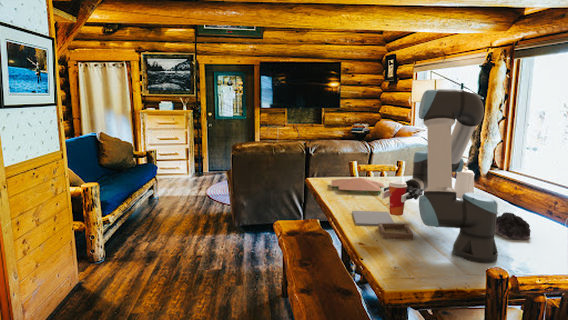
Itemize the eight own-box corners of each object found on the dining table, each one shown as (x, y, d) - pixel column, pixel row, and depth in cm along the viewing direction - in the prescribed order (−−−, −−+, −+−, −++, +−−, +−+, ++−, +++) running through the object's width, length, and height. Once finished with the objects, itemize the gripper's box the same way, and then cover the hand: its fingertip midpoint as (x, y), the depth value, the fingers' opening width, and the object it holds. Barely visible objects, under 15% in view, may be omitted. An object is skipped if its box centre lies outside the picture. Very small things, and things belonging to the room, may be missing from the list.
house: (386, 196, 214) (387, 183, 212) (331, 194, 218) (331, 181, 216) (381, 186, 236) (381, 174, 235) (331, 185, 240) (331, 173, 239)
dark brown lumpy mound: (531, 245, 146) (537, 222, 144) (494, 236, 151) (499, 214, 150) (526, 236, 157) (531, 214, 156) (492, 228, 163) (496, 207, 162)
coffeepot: (459, 204, 196) (462, 171, 192) (448, 192, 220) (450, 163, 216) (480, 206, 193) (484, 172, 190) (466, 193, 217) (469, 163, 214)
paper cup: (391, 209, 159) (392, 179, 157) (408, 213, 154) (410, 182, 152) (384, 214, 153) (385, 182, 151) (401, 217, 149) (403, 185, 146)
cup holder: (413, 240, 149) (413, 234, 148) (383, 238, 150) (383, 233, 149) (406, 229, 161) (406, 223, 160) (378, 228, 162) (378, 222, 162)
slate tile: (395, 226, 164) (395, 224, 164) (356, 225, 166) (356, 223, 165) (387, 213, 182) (387, 211, 181) (352, 212, 183) (352, 210, 183)
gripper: (434, 198, 160) (416, 210, 143) (391, 191, 173) (369, 201, 156) (435, 182, 159) (417, 192, 142) (392, 176, 172) (370, 184, 155)
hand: (392, 197), depth 149 cm, fingers closed on paper cup, 8 cm apart
